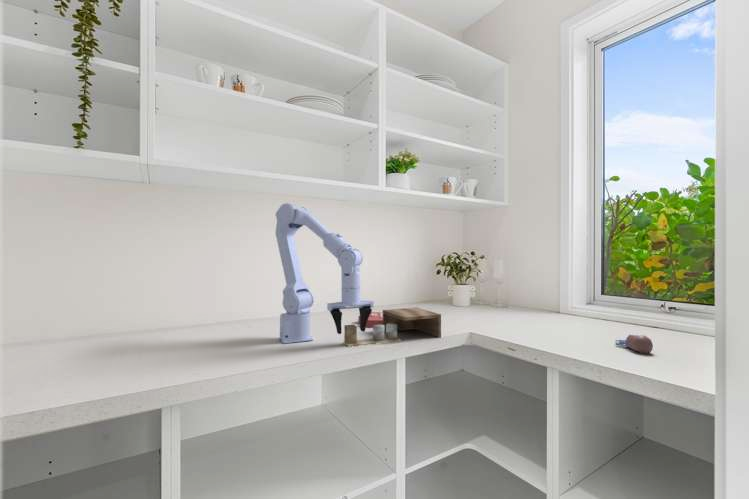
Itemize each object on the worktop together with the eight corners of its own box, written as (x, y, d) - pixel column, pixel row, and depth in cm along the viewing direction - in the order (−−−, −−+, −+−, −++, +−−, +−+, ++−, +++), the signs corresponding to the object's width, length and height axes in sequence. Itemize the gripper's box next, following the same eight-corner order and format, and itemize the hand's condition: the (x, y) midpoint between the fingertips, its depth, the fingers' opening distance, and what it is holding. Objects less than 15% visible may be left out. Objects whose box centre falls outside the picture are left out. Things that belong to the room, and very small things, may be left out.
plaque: (359, 310, 146) (394, 310, 146) (359, 319, 146) (394, 319, 146) (357, 318, 128) (396, 318, 128) (357, 328, 128) (396, 328, 128)
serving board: (348, 347, 102) (348, 327, 102) (343, 343, 106) (343, 324, 106) (400, 342, 108) (400, 323, 108) (393, 338, 113) (393, 320, 113)
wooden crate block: (404, 341, 107) (404, 317, 107) (382, 331, 122) (382, 309, 122) (441, 337, 113) (441, 314, 113) (416, 327, 128) (416, 307, 128)
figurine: (609, 350, 104) (640, 355, 93) (607, 332, 105) (638, 336, 93) (626, 349, 104) (659, 355, 93) (624, 332, 105) (657, 336, 94)
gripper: (331, 290, 98) (332, 337, 98) (377, 288, 104) (377, 332, 104) (325, 288, 104) (325, 332, 104) (368, 286, 110) (368, 328, 110)
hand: (351, 332), depth 104 cm, fingers open, 7 cm apart
